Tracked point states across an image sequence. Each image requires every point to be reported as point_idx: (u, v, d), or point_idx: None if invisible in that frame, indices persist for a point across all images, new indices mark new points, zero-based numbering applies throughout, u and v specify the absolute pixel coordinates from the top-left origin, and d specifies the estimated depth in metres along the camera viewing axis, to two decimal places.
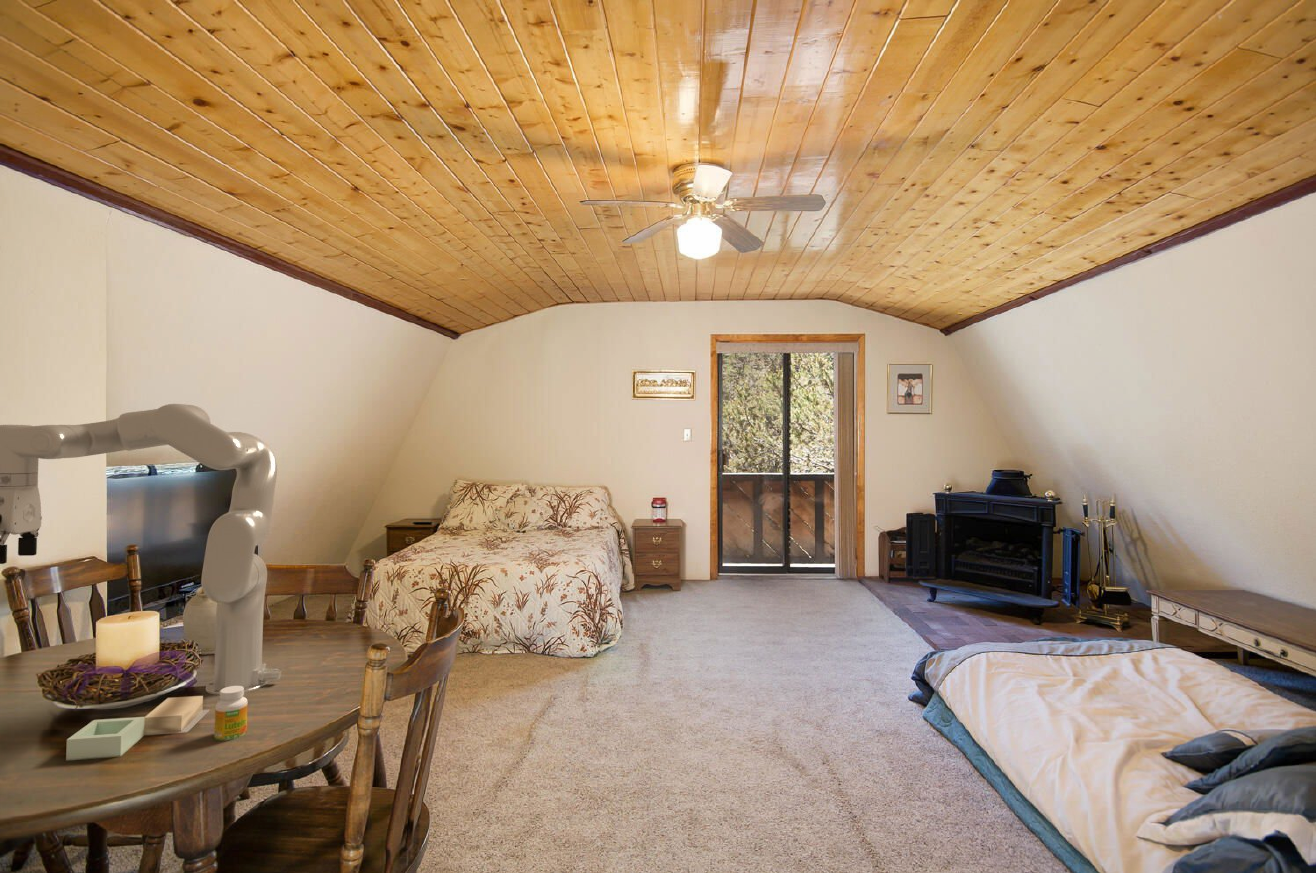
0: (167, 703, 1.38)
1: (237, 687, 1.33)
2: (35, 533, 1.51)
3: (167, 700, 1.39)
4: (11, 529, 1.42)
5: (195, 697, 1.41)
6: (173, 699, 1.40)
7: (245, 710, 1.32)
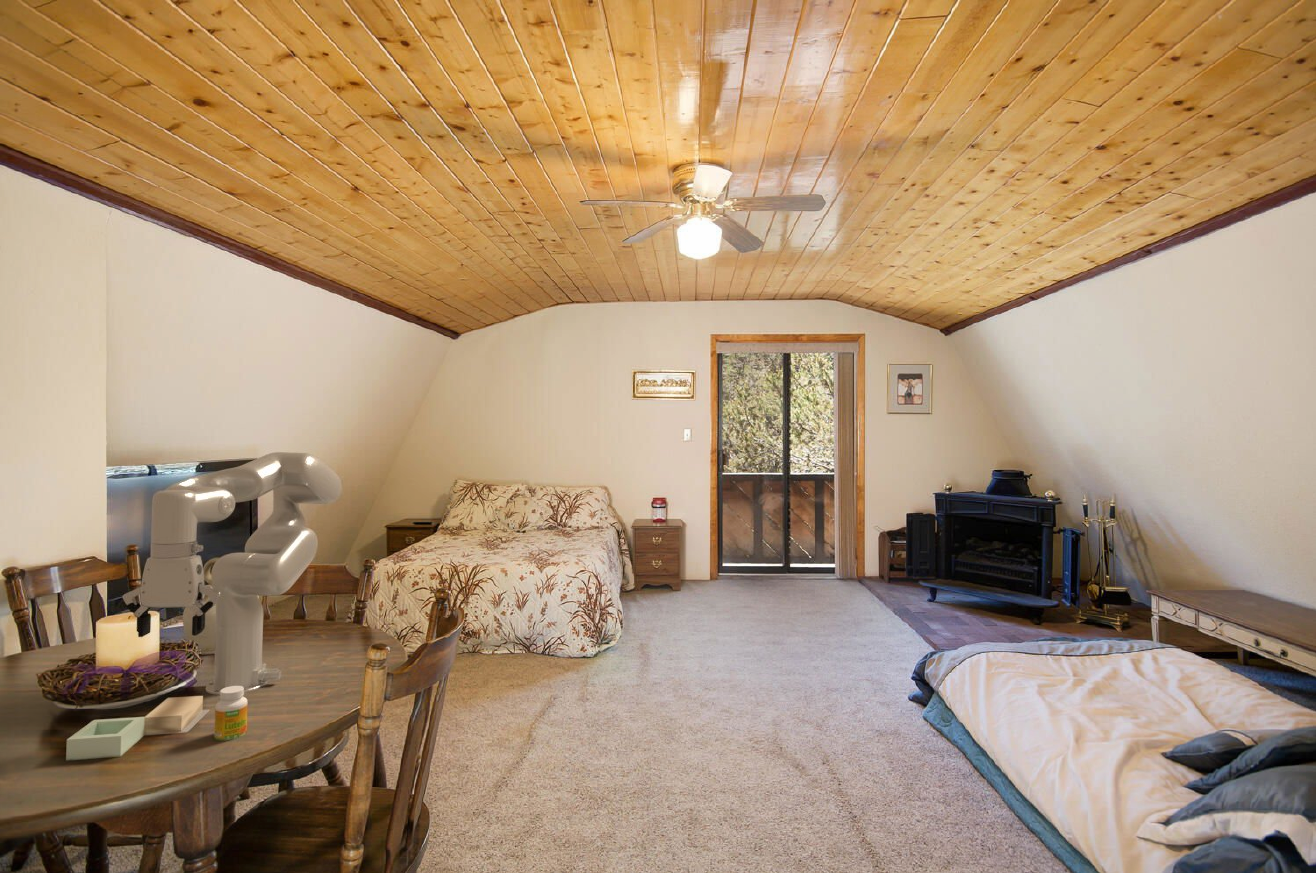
0: (167, 703, 1.38)
1: (237, 687, 1.33)
2: None
3: (167, 700, 1.39)
4: None
5: (195, 697, 1.41)
6: (173, 699, 1.40)
7: (245, 710, 1.32)
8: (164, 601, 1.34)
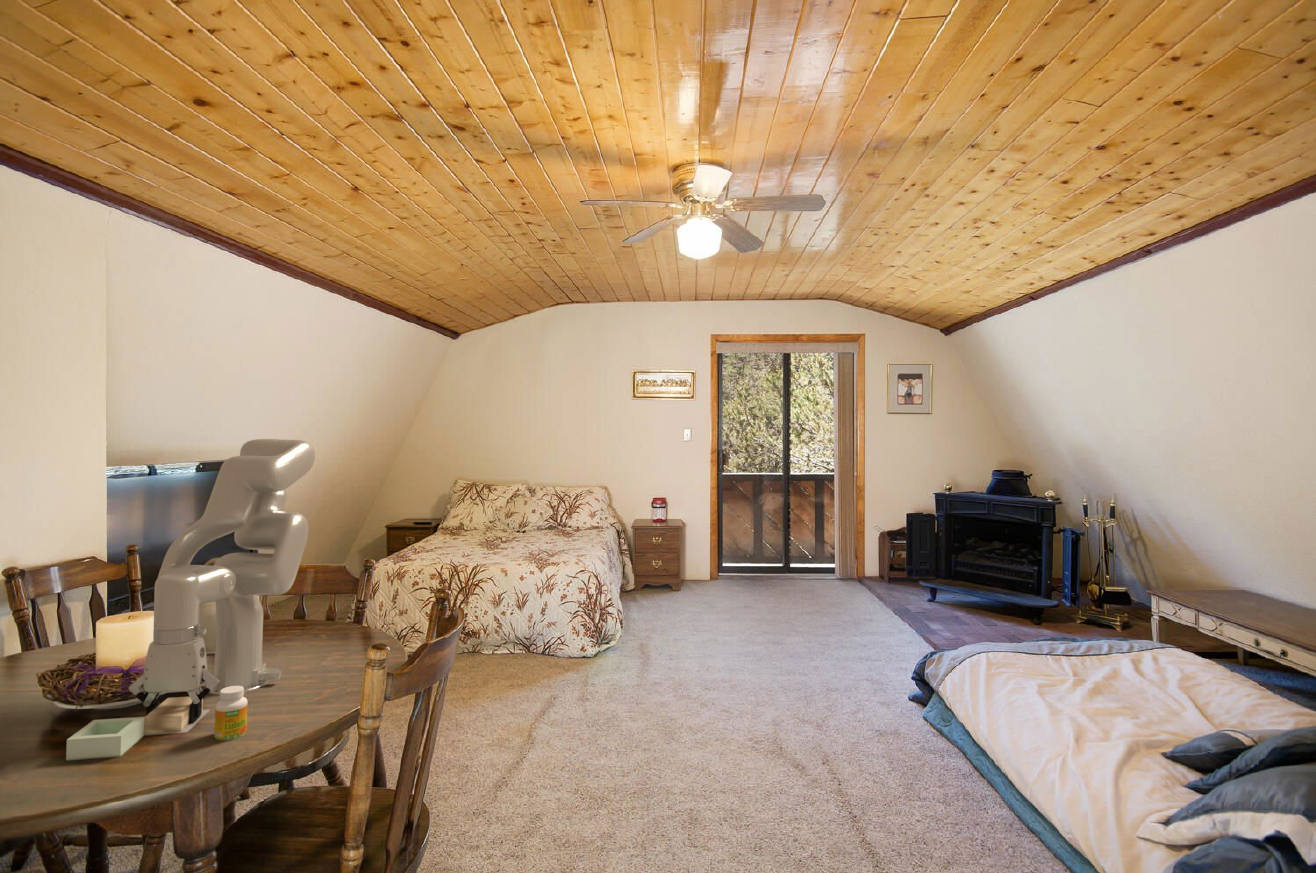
0: (167, 703, 1.38)
1: (237, 687, 1.33)
2: None
3: (167, 700, 1.39)
4: None
5: None
6: (173, 699, 1.40)
7: (245, 710, 1.32)
8: (167, 686, 1.34)
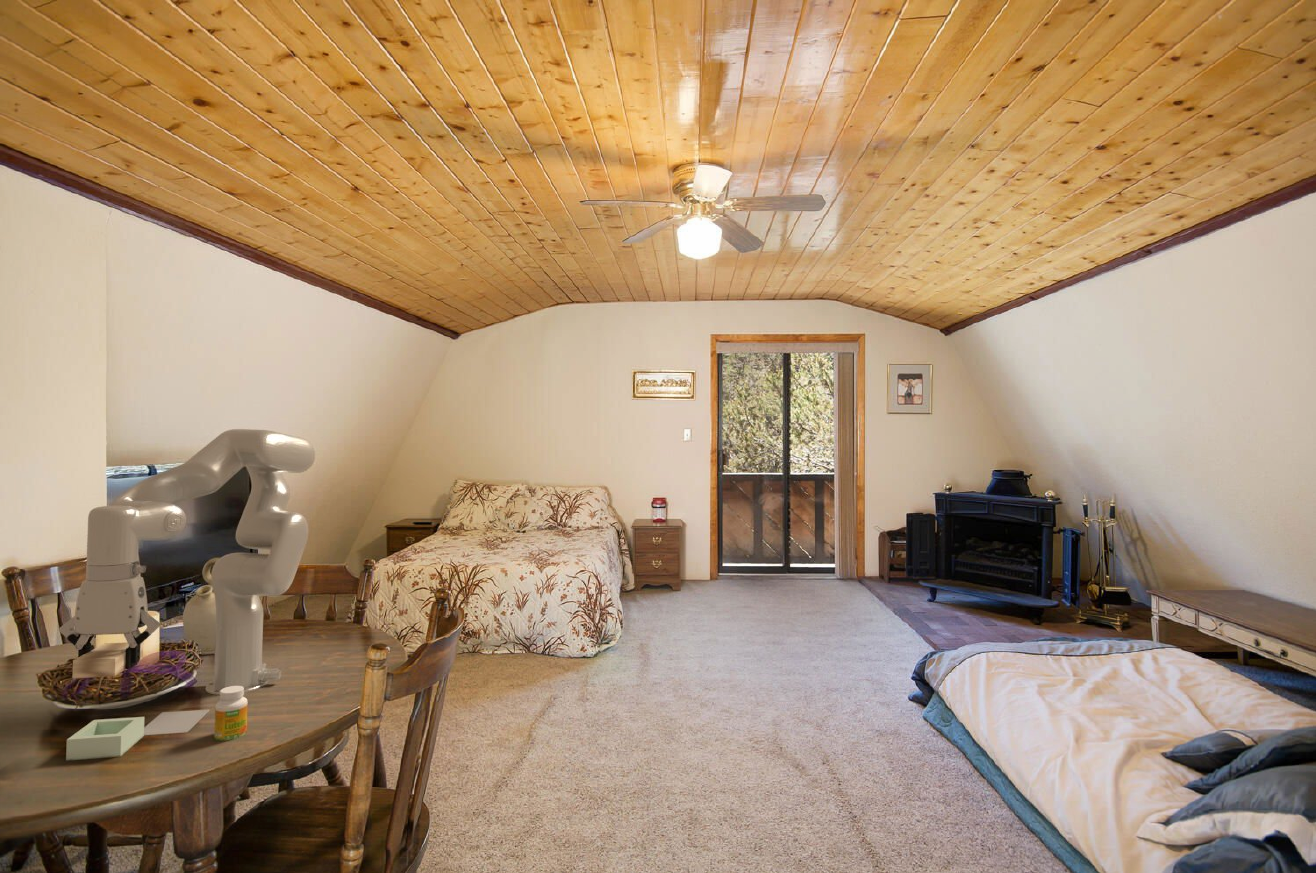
0: (102, 648, 1.26)
1: (237, 687, 1.33)
2: None
3: (103, 645, 1.28)
4: None
5: None
6: (110, 644, 1.28)
7: (245, 710, 1.32)
8: (101, 628, 1.23)
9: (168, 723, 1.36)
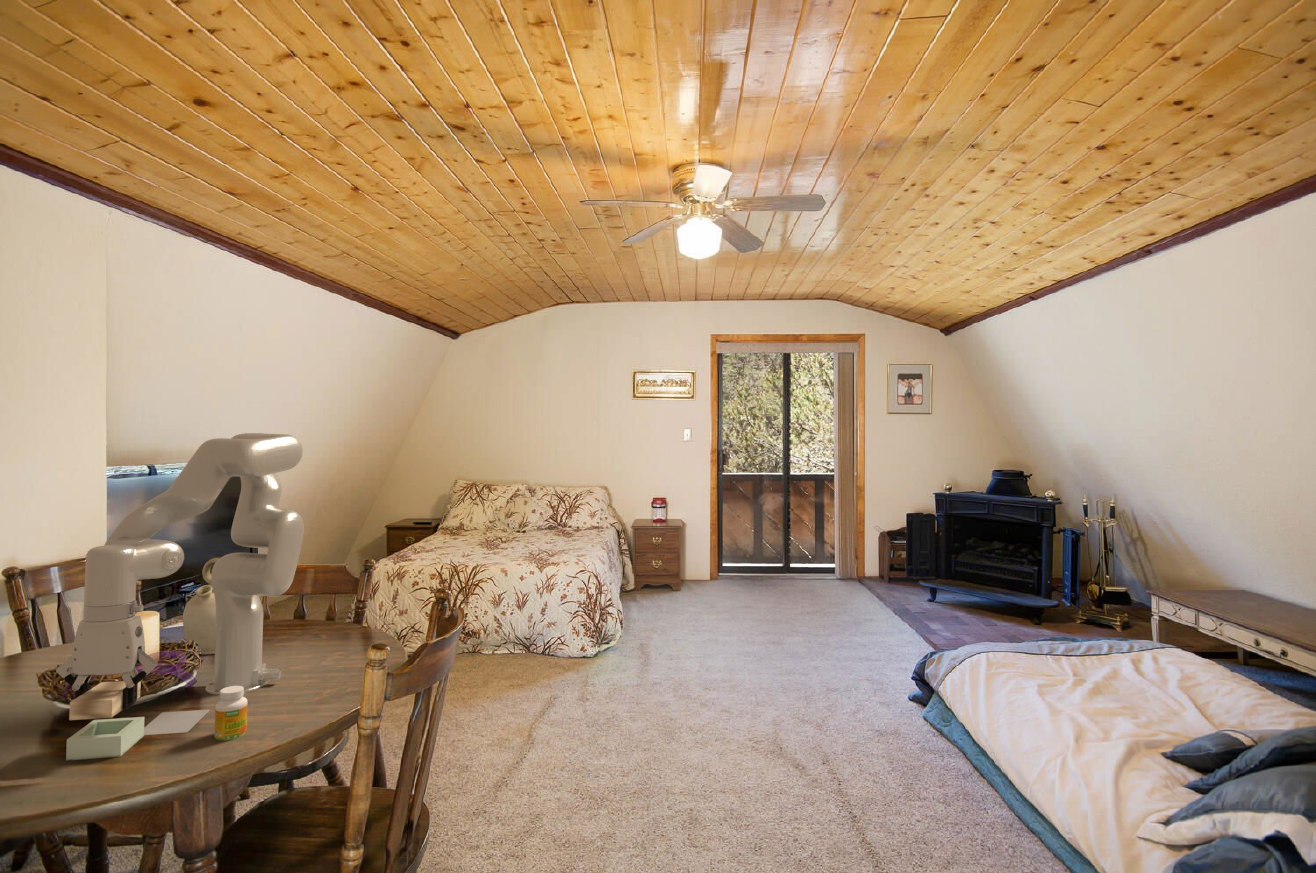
0: (100, 687, 1.26)
1: (237, 687, 1.33)
2: None
3: (100, 684, 1.27)
4: None
5: None
6: (107, 683, 1.28)
7: (245, 710, 1.32)
8: (98, 668, 1.23)
9: (168, 723, 1.36)
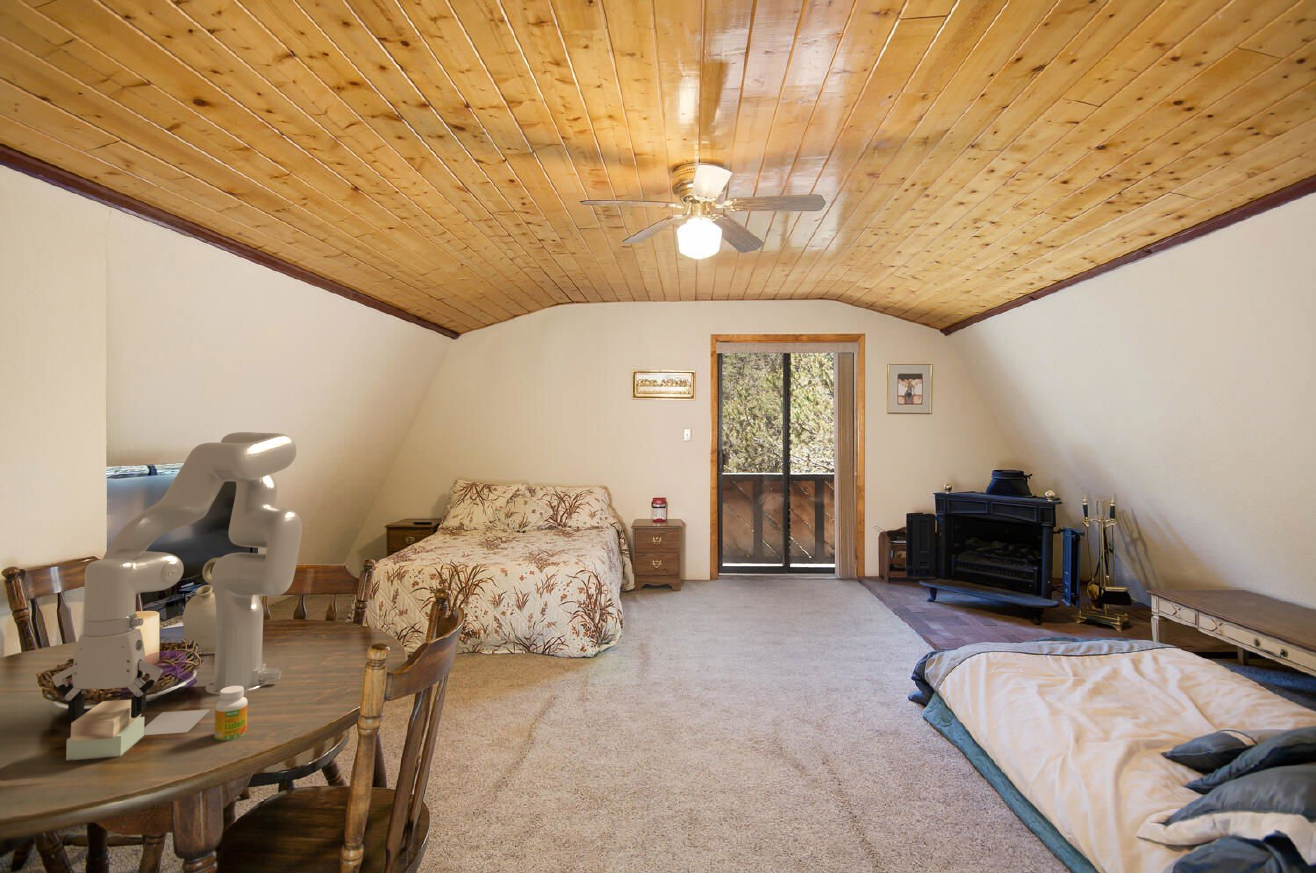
0: (100, 707, 1.26)
1: (237, 687, 1.33)
2: None
3: (101, 704, 1.28)
4: None
5: None
6: (108, 702, 1.29)
7: (245, 710, 1.32)
8: (99, 682, 1.23)
9: (168, 723, 1.36)
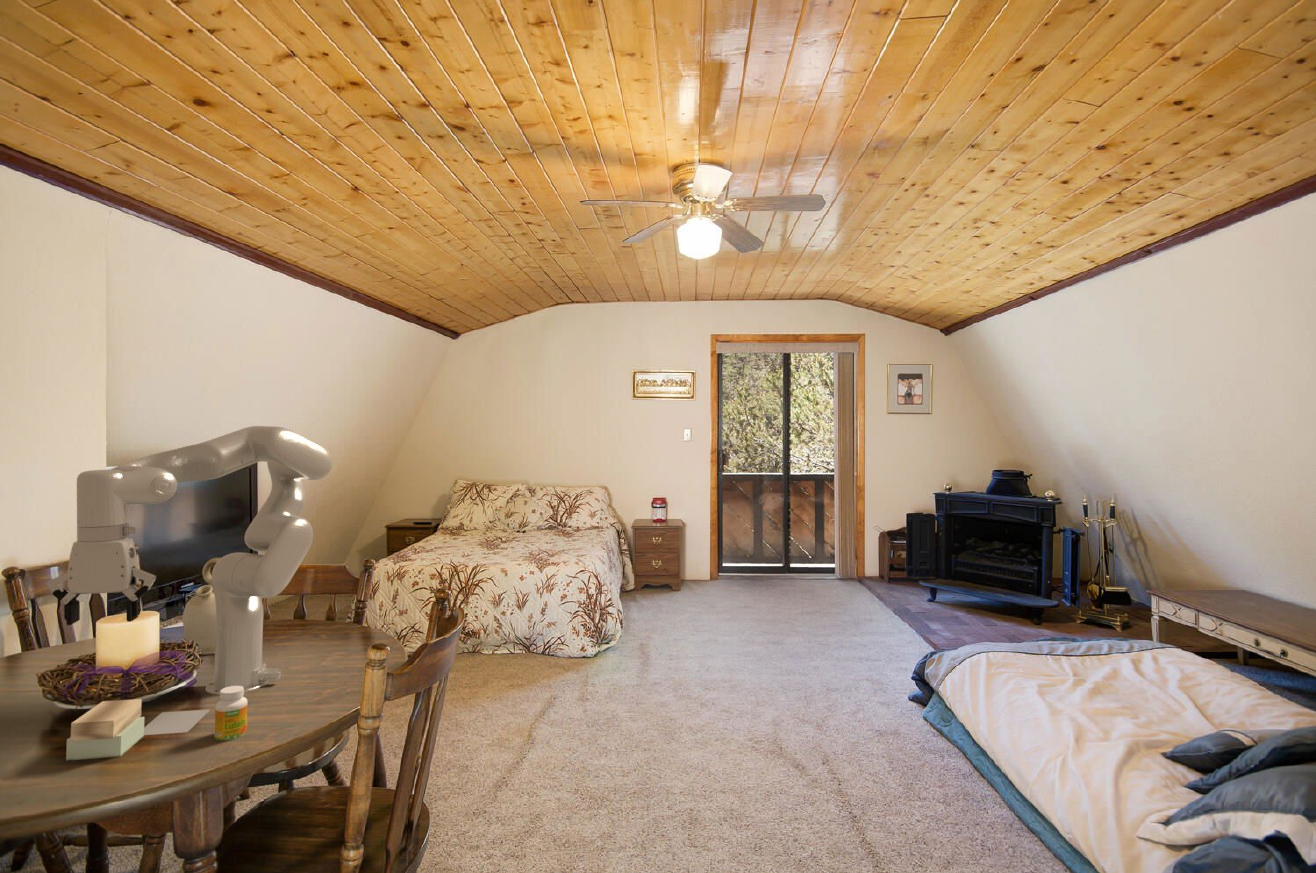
0: (100, 707, 1.26)
1: (237, 687, 1.33)
2: None
3: (101, 704, 1.28)
4: None
5: (132, 700, 1.30)
6: (108, 702, 1.29)
7: (245, 710, 1.32)
8: (94, 587, 1.28)
9: (168, 723, 1.36)
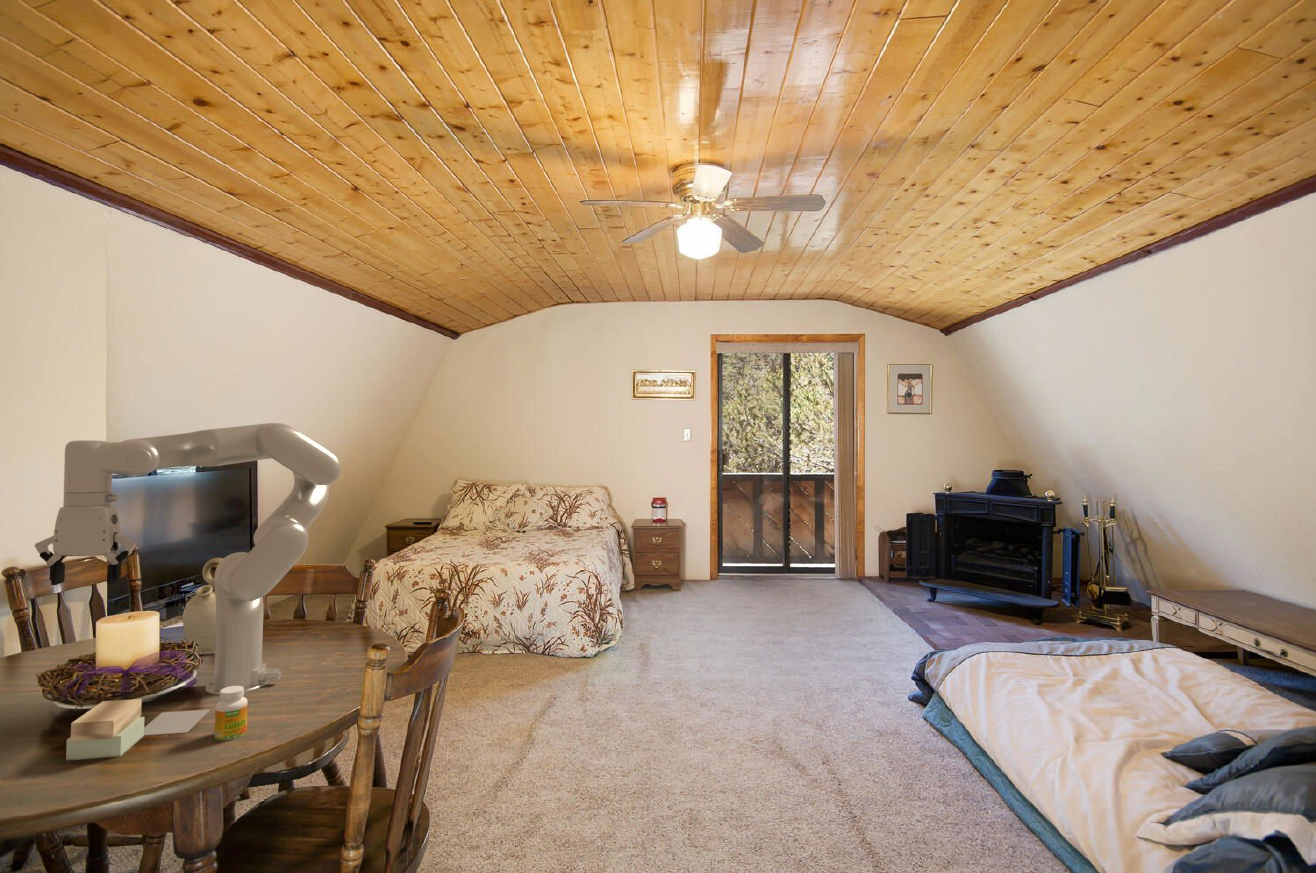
0: (100, 707, 1.26)
1: (237, 687, 1.33)
2: None
3: (101, 704, 1.28)
4: None
5: (132, 700, 1.30)
6: (108, 702, 1.29)
7: (245, 710, 1.32)
8: (78, 549, 1.35)
9: (168, 723, 1.36)
